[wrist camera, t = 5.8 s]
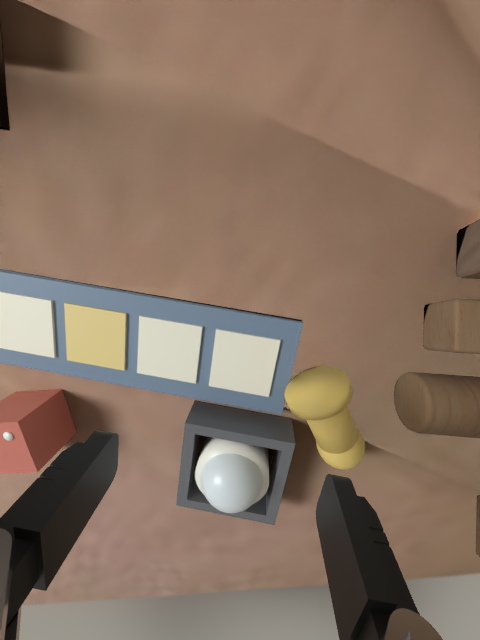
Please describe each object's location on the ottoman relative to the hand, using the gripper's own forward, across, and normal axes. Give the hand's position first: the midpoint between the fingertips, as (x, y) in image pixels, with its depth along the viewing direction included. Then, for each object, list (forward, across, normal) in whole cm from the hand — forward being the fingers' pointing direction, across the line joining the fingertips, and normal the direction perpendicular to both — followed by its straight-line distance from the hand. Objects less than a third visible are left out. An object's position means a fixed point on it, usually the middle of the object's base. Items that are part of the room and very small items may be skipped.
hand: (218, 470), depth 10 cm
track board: (+11, +8, 0) cm, 13 cm away
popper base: (+11, -1, +9) cm, 14 cm away
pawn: (+8, -5, 0) cm, 10 cm away
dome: (+10, -1, +9) cm, 13 cm away
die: (+11, +16, +9) cm, 21 cm away
